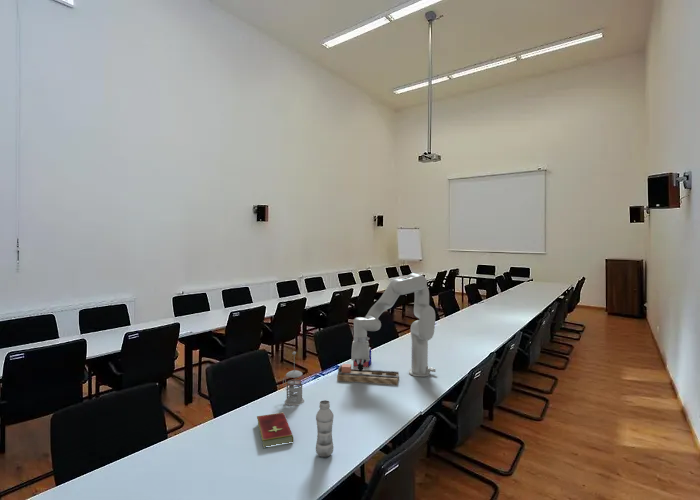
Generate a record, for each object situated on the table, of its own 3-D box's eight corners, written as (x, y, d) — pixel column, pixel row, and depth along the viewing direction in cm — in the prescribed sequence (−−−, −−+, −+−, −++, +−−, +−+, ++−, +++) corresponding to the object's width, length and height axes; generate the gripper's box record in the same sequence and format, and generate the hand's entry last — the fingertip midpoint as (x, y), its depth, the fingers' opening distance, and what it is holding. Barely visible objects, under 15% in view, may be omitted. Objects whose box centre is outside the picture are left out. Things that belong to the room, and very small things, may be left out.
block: (351, 371, 225) (351, 364, 225) (350, 374, 220) (350, 367, 220) (342, 370, 226) (342, 363, 225) (341, 373, 221) (341, 366, 220)
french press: (295, 407, 184) (295, 355, 183) (277, 401, 190) (277, 351, 189) (308, 399, 192) (308, 350, 191) (290, 394, 199) (290, 347, 198)
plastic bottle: (315, 450, 147) (315, 398, 146) (333, 449, 148) (333, 398, 147) (315, 460, 141) (315, 406, 140) (334, 459, 141) (333, 405, 141)
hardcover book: (284, 420, 172) (284, 411, 172) (293, 444, 152) (293, 434, 152) (257, 425, 168) (256, 415, 168) (262, 450, 148) (262, 439, 148)
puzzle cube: (368, 367, 240) (368, 351, 239) (353, 366, 242) (353, 350, 241) (371, 362, 250) (371, 347, 249) (356, 361, 252) (356, 346, 251)
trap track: (398, 376, 224) (398, 366, 223) (397, 384, 212) (397, 374, 212) (341, 373, 230) (341, 363, 229) (337, 380, 218) (337, 370, 218)
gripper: (374, 338, 223) (374, 369, 224) (348, 337, 226) (349, 367, 227) (372, 341, 216) (372, 373, 216) (346, 340, 219) (346, 372, 219)
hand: (360, 370), depth 222 cm, fingers closed
